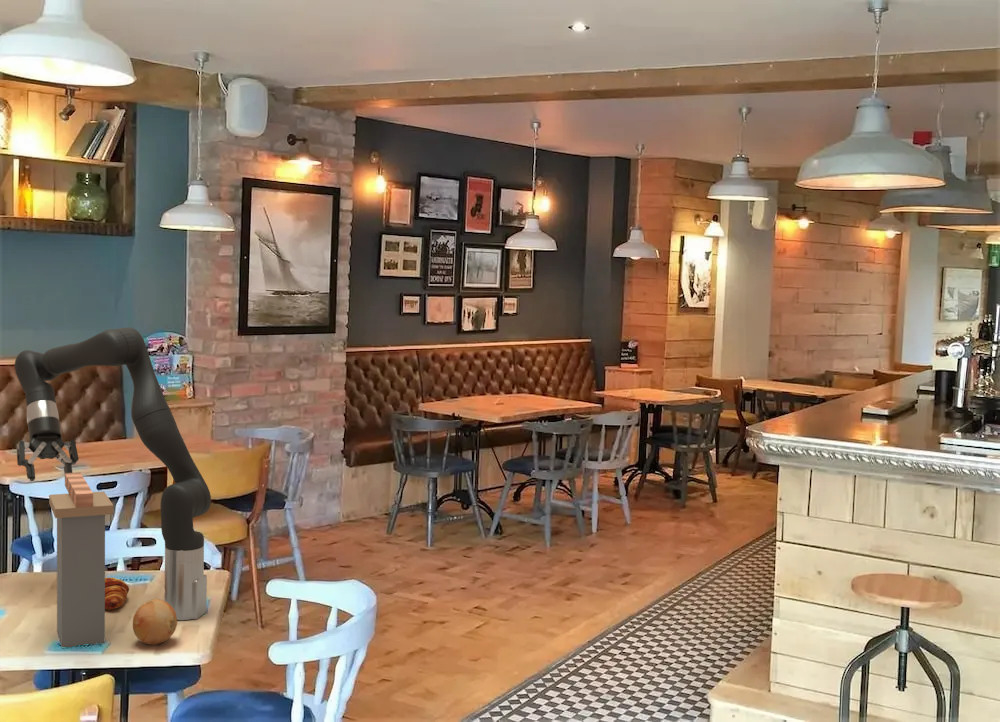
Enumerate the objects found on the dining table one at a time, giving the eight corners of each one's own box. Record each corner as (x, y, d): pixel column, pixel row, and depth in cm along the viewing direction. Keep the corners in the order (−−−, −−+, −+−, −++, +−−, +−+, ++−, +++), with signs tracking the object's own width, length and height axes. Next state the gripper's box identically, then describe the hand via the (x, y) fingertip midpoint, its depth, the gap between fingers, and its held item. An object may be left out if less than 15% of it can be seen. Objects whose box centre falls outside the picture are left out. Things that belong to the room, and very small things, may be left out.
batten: (64, 485, 252) (64, 473, 252) (80, 484, 254) (80, 472, 254) (76, 507, 230) (76, 494, 229) (93, 506, 231) (93, 493, 231)
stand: (49, 629, 244) (49, 494, 242) (103, 623, 250) (104, 491, 247) (55, 652, 230) (55, 509, 228) (112, 644, 236) (113, 505, 233)
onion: (166, 652, 232) (166, 608, 231) (123, 648, 233) (124, 605, 233) (184, 637, 242) (185, 595, 241) (143, 634, 243) (144, 592, 242)
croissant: (88, 605, 274) (72, 580, 272) (123, 583, 279) (108, 558, 276) (104, 627, 256) (88, 601, 254) (141, 603, 260) (126, 577, 258)
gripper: (18, 415, 262) (24, 474, 256) (76, 415, 271) (84, 472, 265) (10, 428, 267) (16, 486, 261) (67, 428, 276) (75, 484, 270)
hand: (50, 479), depth 263 cm, fingers open, 8 cm apart
